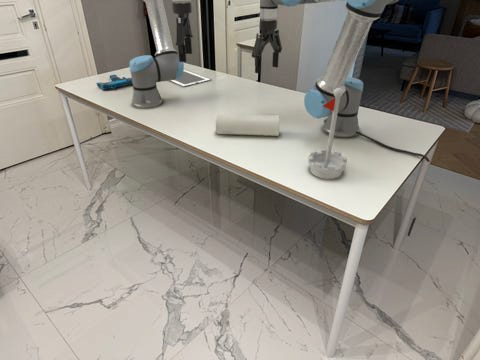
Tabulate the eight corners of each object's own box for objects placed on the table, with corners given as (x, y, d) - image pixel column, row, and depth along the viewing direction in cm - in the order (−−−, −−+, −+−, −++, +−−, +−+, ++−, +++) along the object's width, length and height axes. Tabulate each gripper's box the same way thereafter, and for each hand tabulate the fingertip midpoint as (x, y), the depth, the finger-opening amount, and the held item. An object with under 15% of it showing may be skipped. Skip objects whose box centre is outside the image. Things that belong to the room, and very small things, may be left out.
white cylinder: (278, 130, 150) (279, 112, 145) (278, 139, 143) (279, 120, 138) (218, 128, 152) (218, 110, 147) (216, 137, 145) (215, 118, 140)
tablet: (156, 75, 222) (156, 74, 221) (183, 69, 233) (183, 69, 233) (183, 86, 201) (183, 86, 201) (210, 80, 212) (210, 79, 212)
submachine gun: (140, 68, 226) (159, 74, 209) (142, 73, 228) (160, 80, 211) (89, 77, 207) (104, 85, 190) (90, 84, 209) (106, 92, 192)
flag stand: (330, 158, 128) (344, 79, 112) (352, 176, 118) (370, 92, 102) (300, 165, 124) (309, 84, 108) (320, 183, 114) (333, 97, 98)
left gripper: (178, -2, 144) (183, 50, 156) (164, 5, 123) (170, 65, 135) (196, -2, 144) (199, 50, 156) (184, 6, 123) (189, 65, 135)
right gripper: (277, 15, 155) (275, 63, 166) (243, 22, 138) (243, 74, 150) (291, 16, 151) (288, 65, 162) (257, 23, 134) (257, 77, 146)
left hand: (186, 57), depth 145 cm, fingers open, 13 cm apart
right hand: (266, 70), depth 156 cm, fingers open, 13 cm apart
